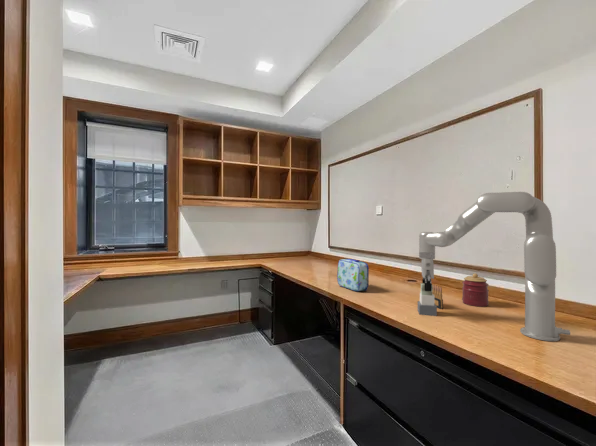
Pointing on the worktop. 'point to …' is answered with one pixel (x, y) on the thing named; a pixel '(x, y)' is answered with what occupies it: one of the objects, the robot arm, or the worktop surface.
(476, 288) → the canister
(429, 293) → the sage block
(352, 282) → the lunch box
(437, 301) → the ammunition clip
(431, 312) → the tower base
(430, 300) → the tower top
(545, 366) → the worktop surface
